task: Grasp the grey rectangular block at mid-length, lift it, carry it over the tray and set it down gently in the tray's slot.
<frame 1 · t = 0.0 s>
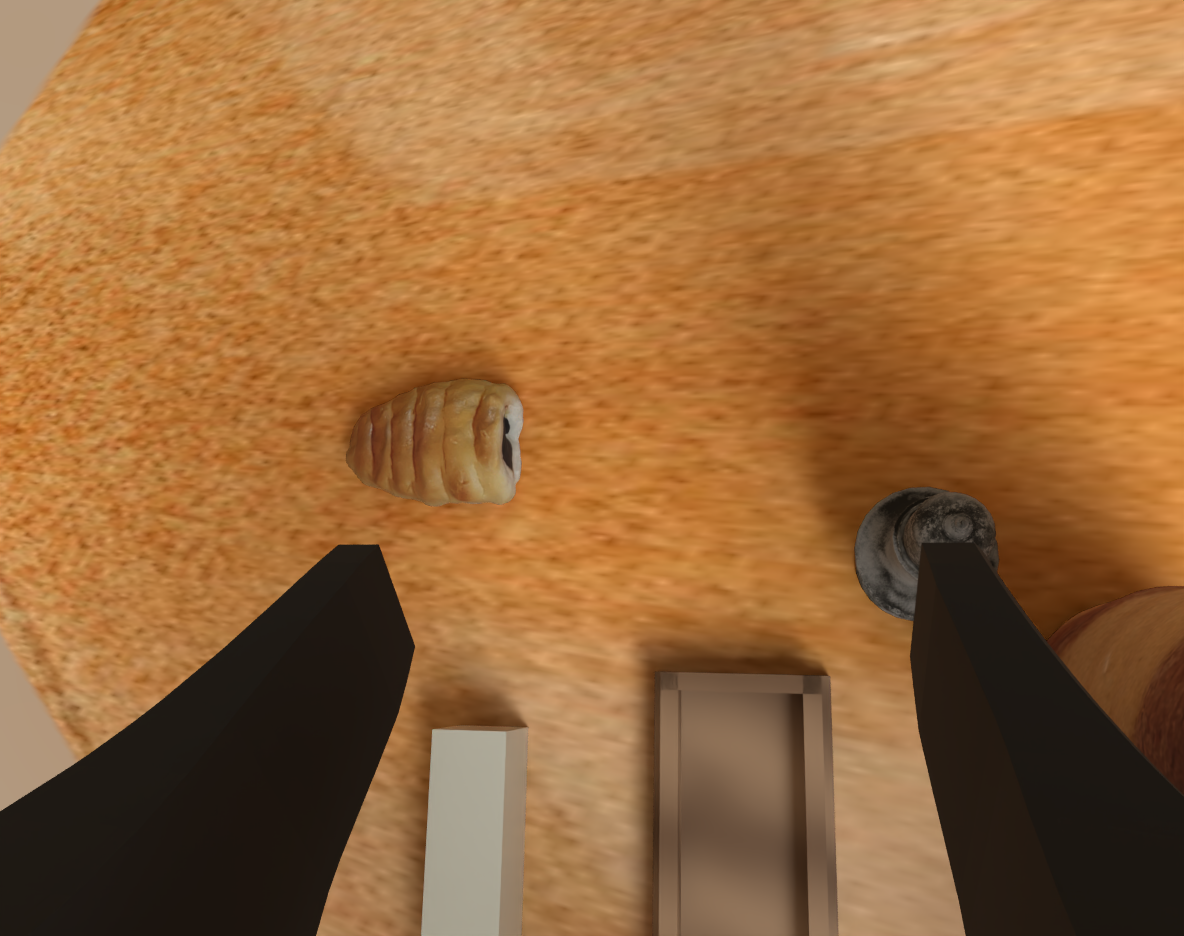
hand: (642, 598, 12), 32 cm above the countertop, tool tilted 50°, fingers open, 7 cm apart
pastry: (456, 453, 49), on the countertop
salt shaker: (913, 564, 43), on the countertop
tray: (743, 850, 41), on the countertop
wafer roll: (1140, 726, 39), on the countertop
grey rectangular block: (490, 855, 44), on the countertop
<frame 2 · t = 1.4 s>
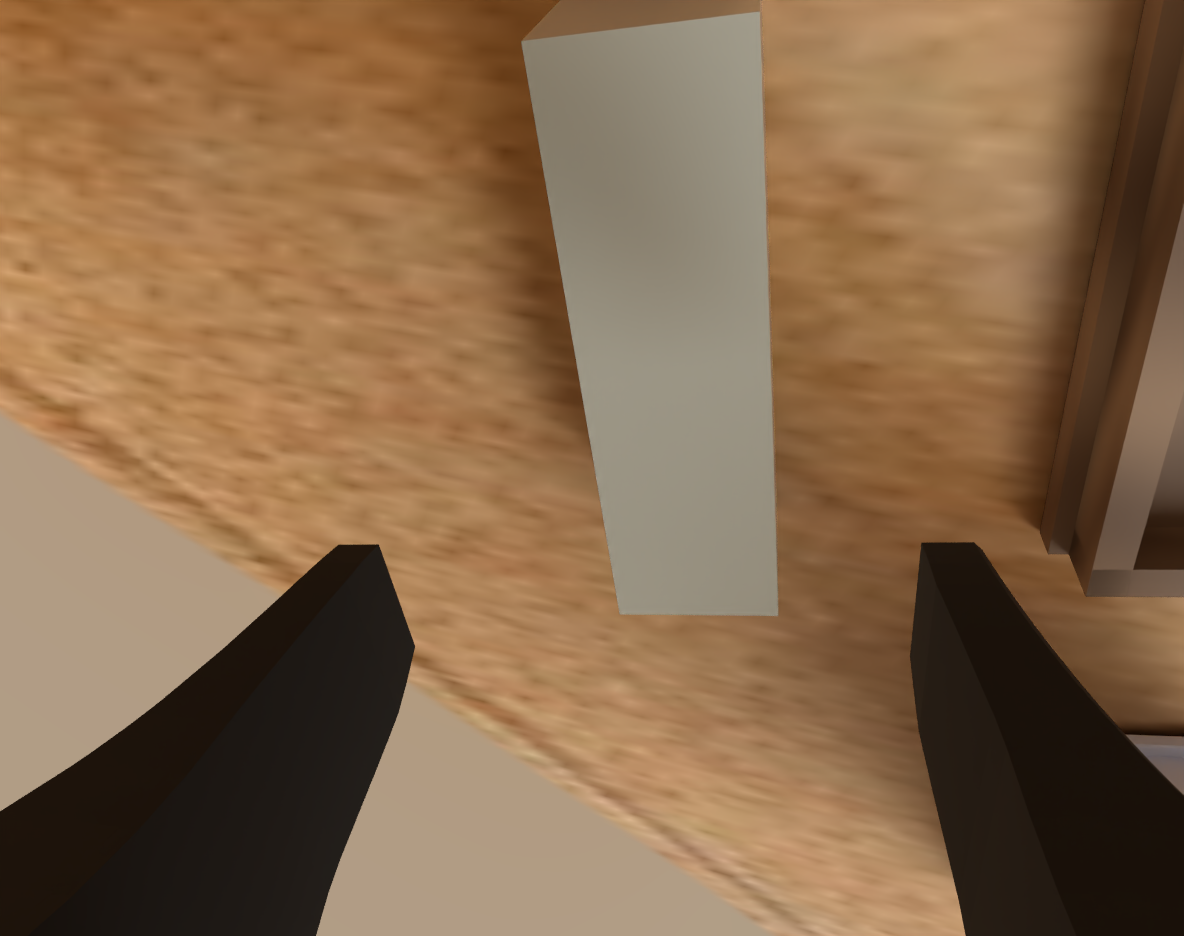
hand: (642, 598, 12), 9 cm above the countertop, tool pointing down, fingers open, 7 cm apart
grey rectangular block: (688, 286, 20), on the countertop
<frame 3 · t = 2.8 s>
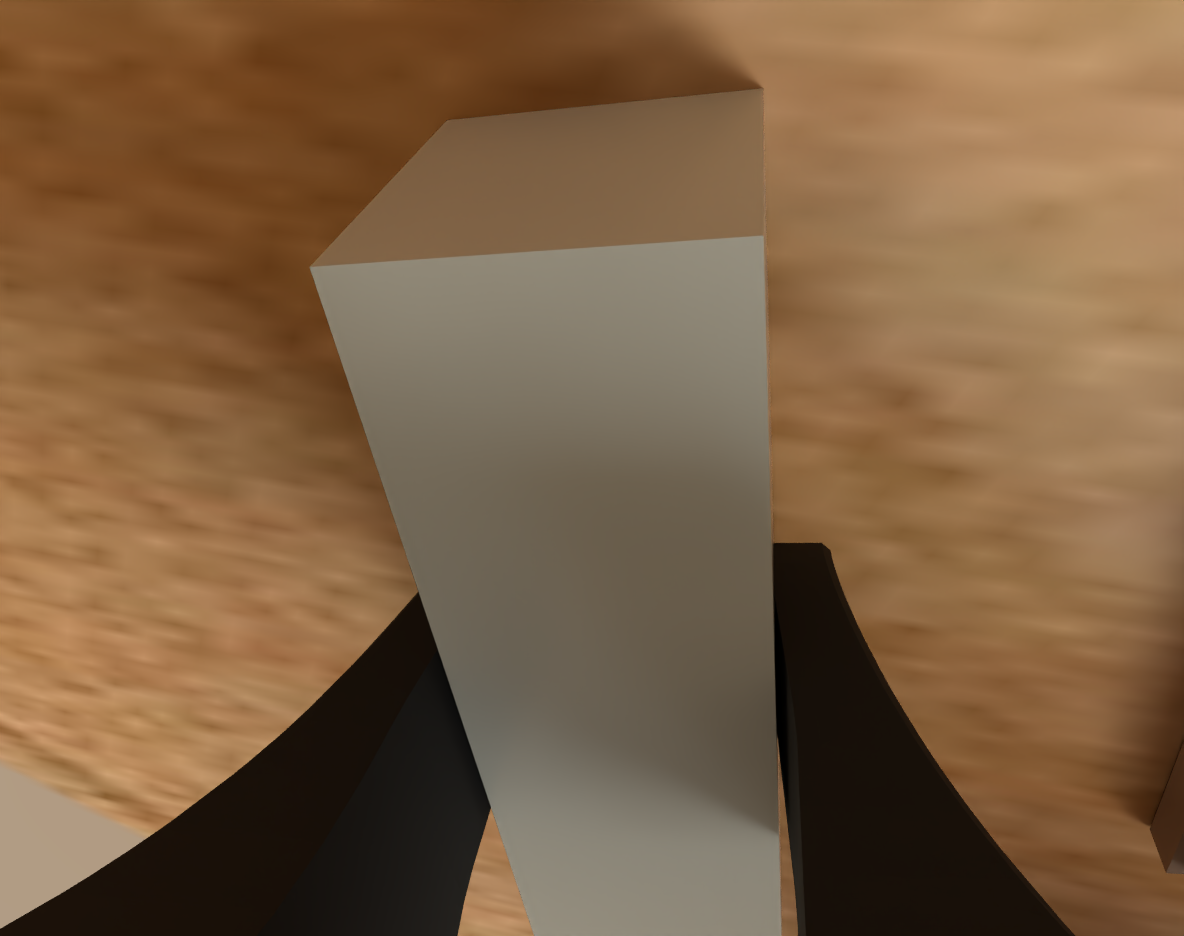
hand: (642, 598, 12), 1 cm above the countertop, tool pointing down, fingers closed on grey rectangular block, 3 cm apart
grey rectangular block: (652, 524, 13), on the countertop, touching gripper
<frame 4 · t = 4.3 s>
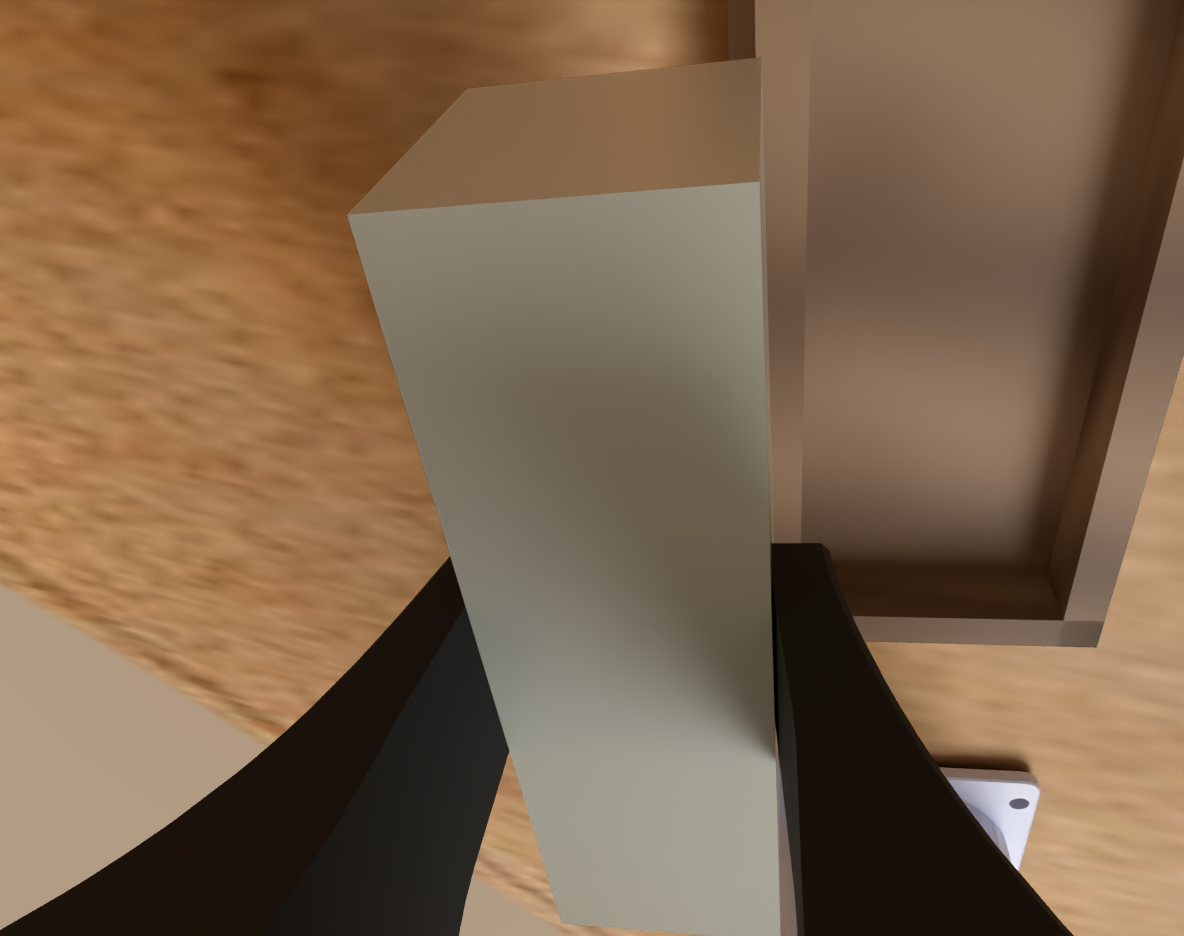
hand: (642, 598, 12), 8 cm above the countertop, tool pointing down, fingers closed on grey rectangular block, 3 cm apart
tray: (946, 279, 18), on the countertop
grey rectangular block: (657, 480, 14), point 6 cm above the countertop, touching gripper
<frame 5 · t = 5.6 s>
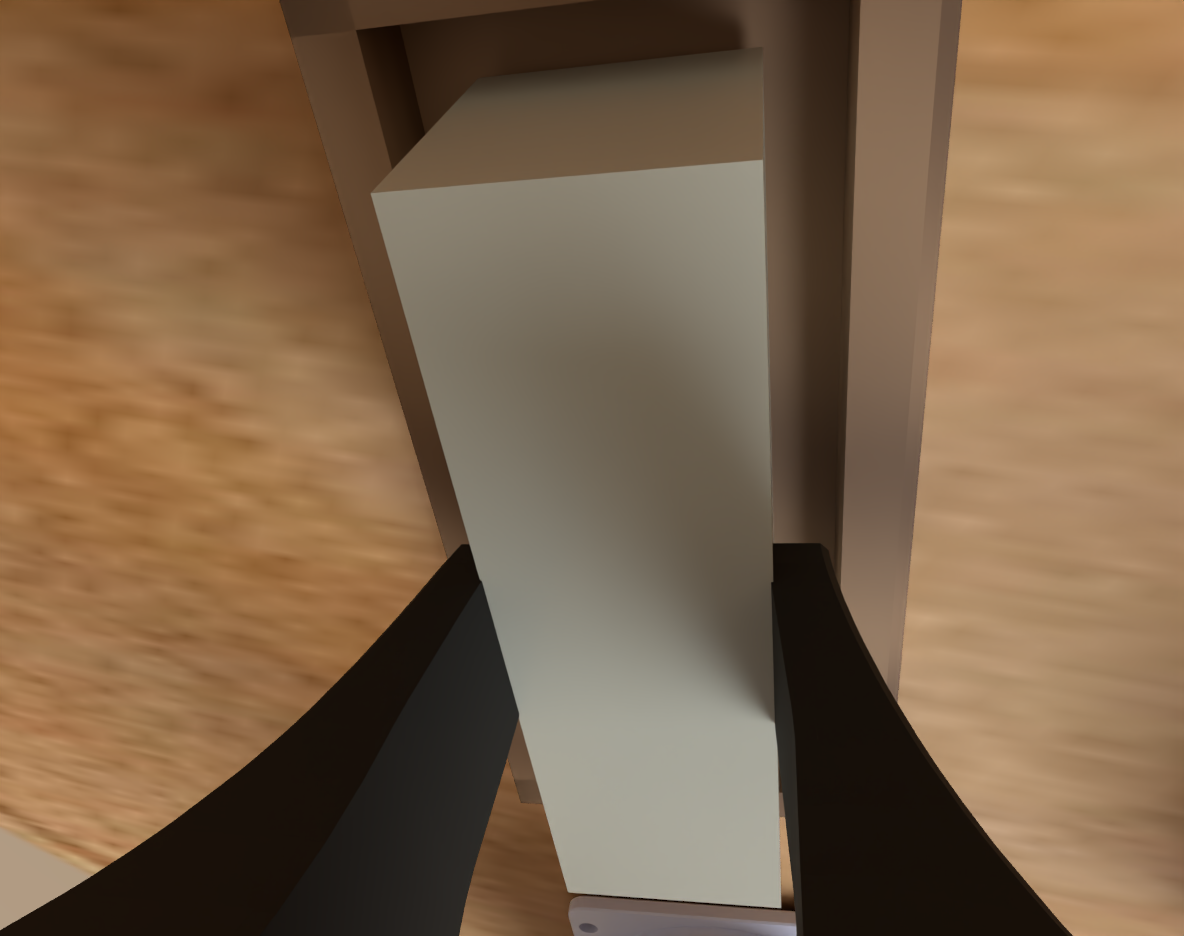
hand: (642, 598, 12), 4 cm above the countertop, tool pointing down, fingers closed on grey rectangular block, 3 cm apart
tray: (667, 428, 16), on the countertop
grey rectangular block: (660, 460, 15), point 1 cm above the countertop, touching gripper
when the fingers open (3 cm above the countertop, at t = 6.2 s): grey rectangular block stays where it is, resting on tray.
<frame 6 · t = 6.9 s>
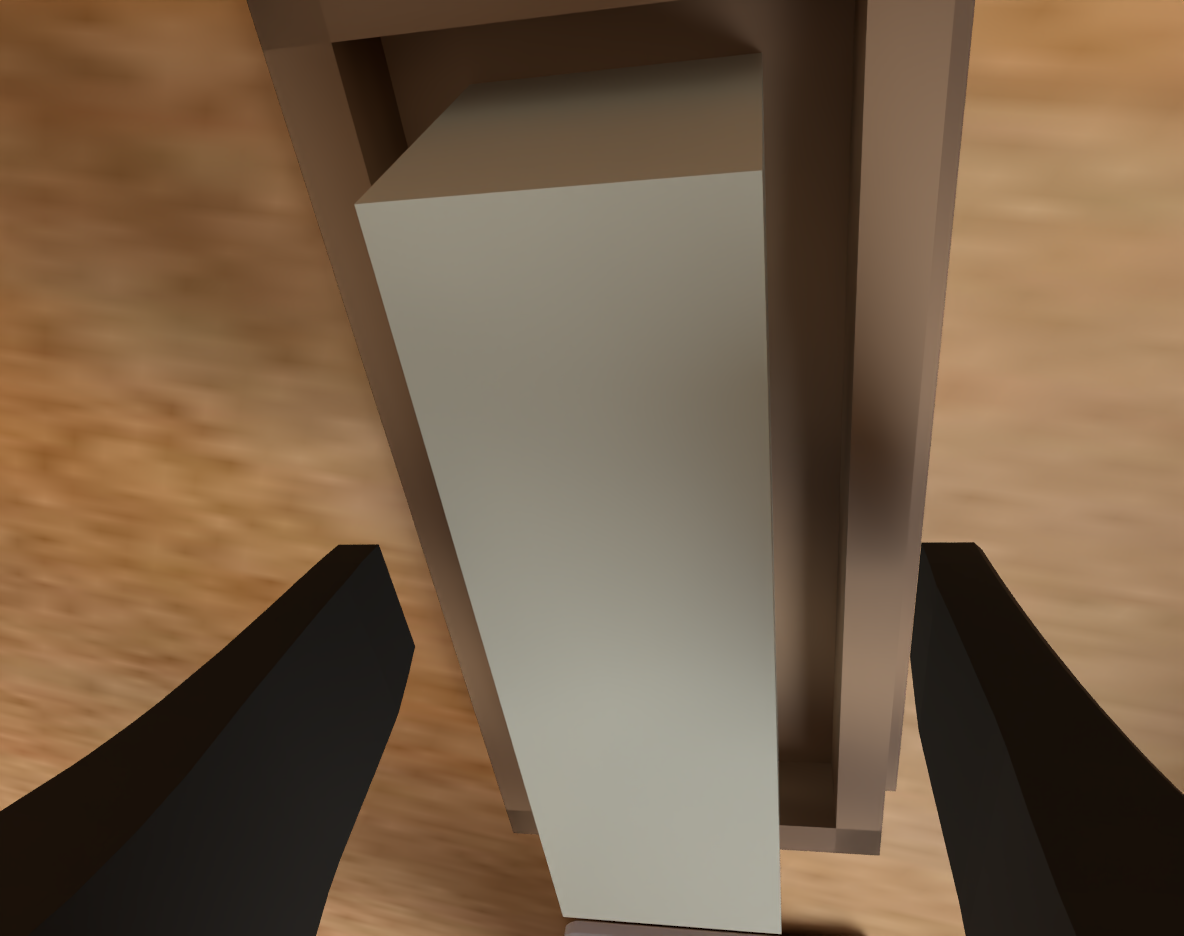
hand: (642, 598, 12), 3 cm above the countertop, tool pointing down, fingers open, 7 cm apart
tray: (663, 451, 15), on the countertop
grey rectangular block: (657, 474, 14), point 1 cm above the countertop, touching tray
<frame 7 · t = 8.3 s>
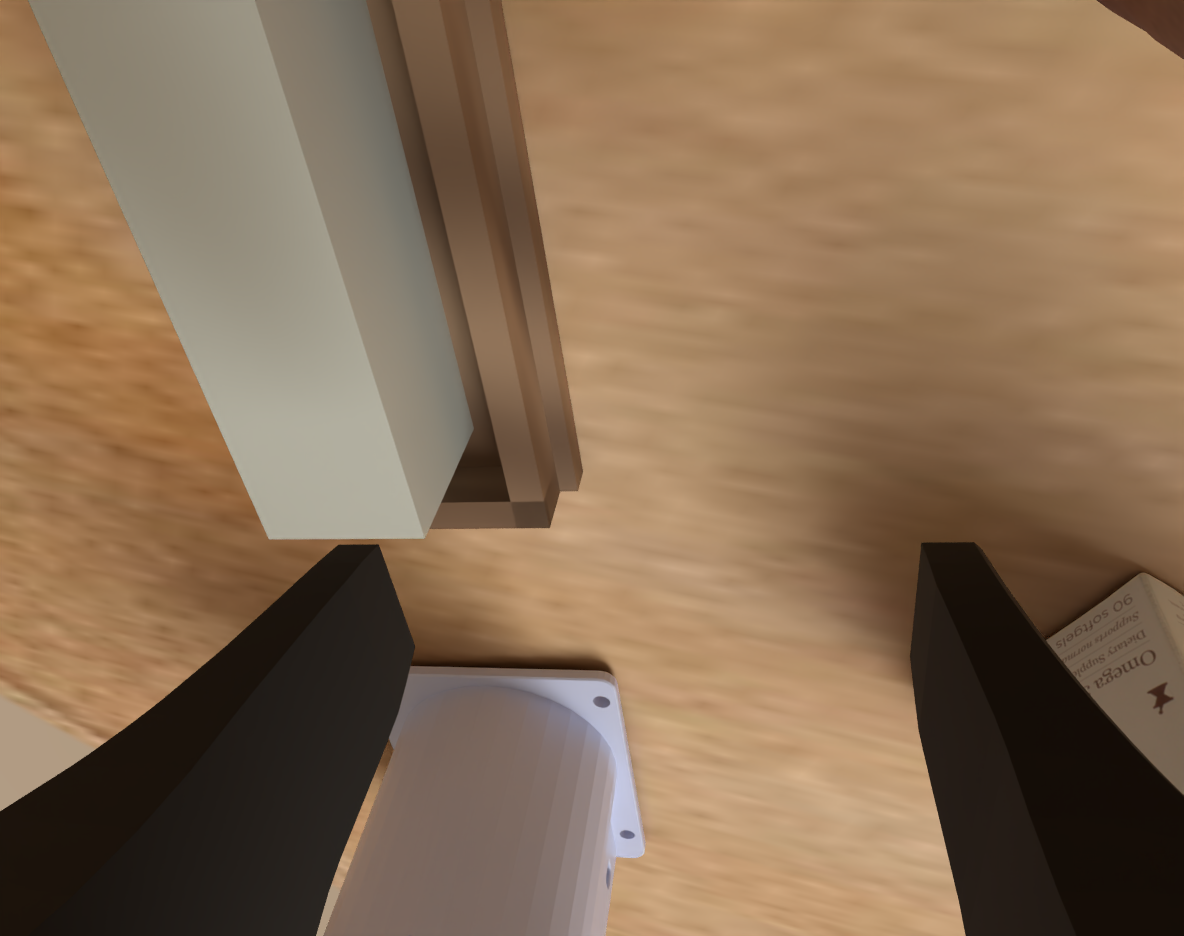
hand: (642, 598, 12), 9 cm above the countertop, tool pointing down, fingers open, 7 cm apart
supplement box: (1119, 693, 25), on the countertop
tray: (347, 180, 19), on the countertop
grey rectangular block: (330, 188, 19), point 1 cm above the countertop, touching tray
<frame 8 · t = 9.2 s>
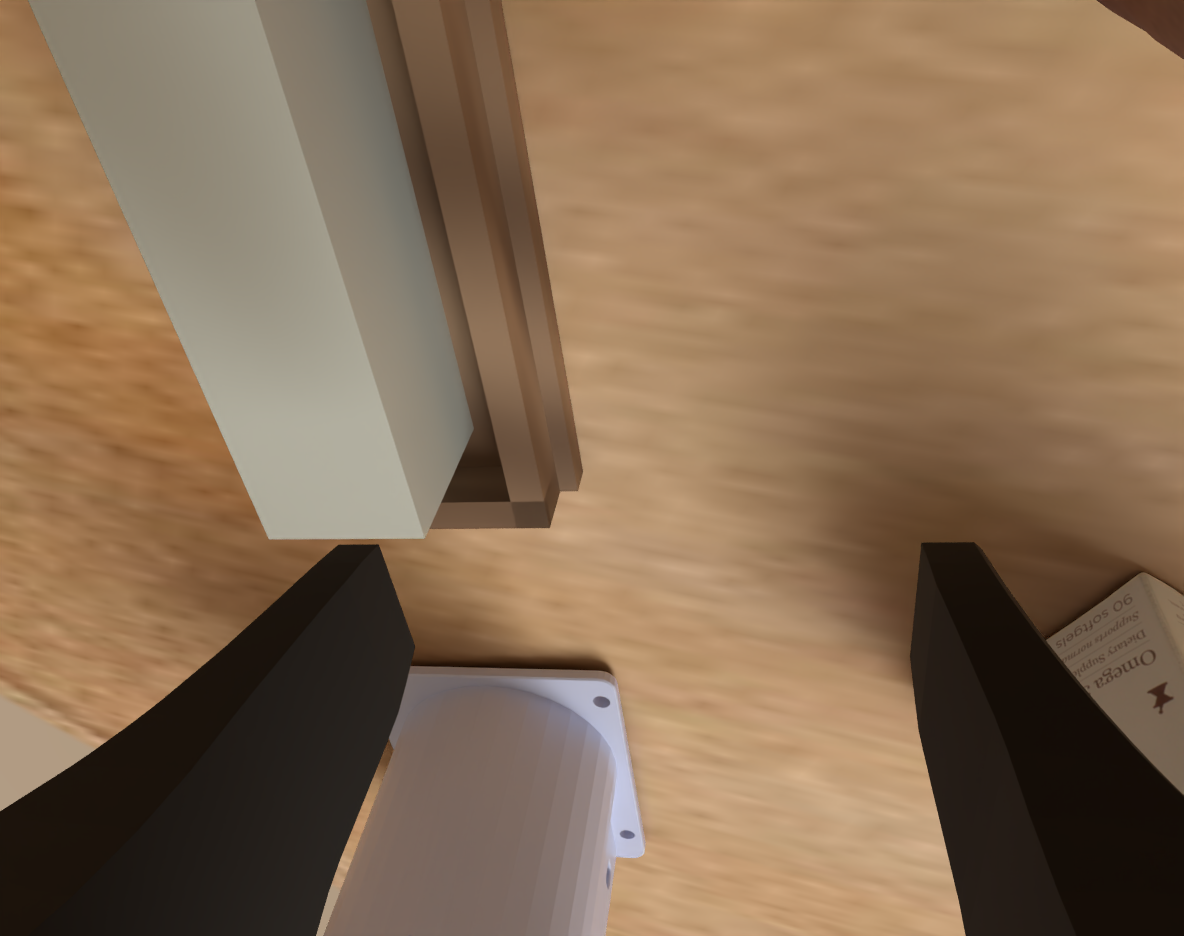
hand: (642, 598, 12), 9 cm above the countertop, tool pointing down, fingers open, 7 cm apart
supplement box: (1119, 693, 25), on the countertop
tray: (347, 180, 19), on the countertop
grey rectangular block: (330, 188, 19), point 1 cm above the countertop, touching tray
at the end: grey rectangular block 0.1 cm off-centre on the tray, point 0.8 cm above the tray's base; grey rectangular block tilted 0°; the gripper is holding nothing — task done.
